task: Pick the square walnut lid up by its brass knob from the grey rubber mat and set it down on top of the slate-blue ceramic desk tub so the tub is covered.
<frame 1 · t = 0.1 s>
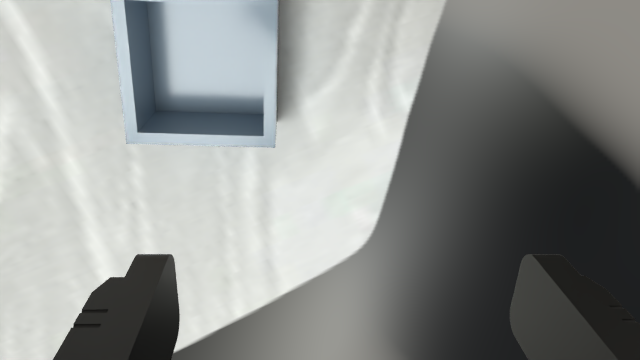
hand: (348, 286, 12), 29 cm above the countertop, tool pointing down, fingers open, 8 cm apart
tub: (211, 55, 38), on the countertop
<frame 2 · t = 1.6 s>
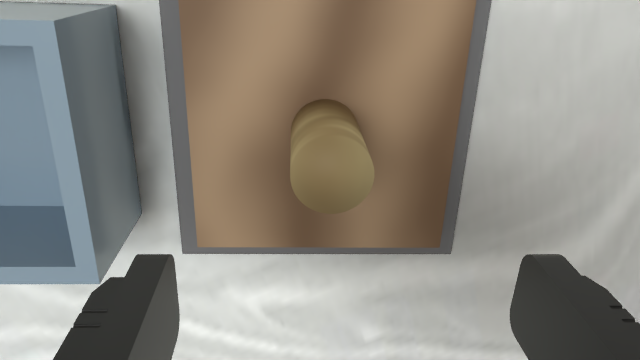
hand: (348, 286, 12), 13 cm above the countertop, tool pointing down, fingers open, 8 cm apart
tub: (18, 116, 23), on the countertop
mat: (322, 121, 24), on the countertop
lid: (323, 125, 23), point 1 cm above the countertop, touching mat
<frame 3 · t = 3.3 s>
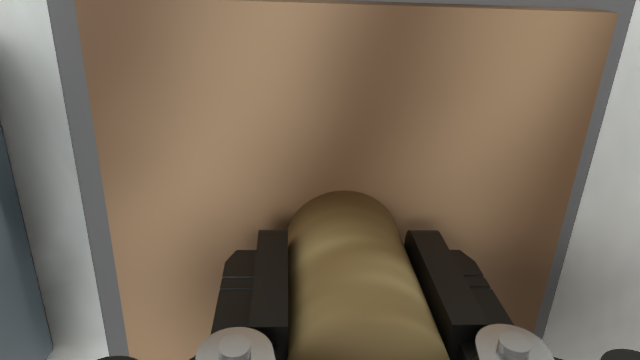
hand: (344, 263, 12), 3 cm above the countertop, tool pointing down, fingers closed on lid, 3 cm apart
mat: (336, 213, 15), on the countertop
lid: (338, 222, 14), point 1 cm above the countertop, touching gripper, mat
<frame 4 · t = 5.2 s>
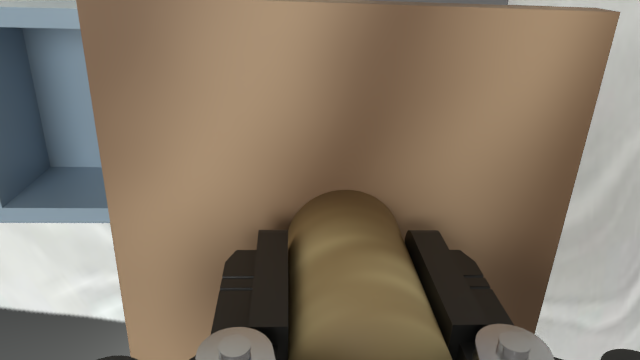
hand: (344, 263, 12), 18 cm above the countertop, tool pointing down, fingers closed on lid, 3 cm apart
tub: (119, 92, 28), on the countertop
mat: (368, 96, 29), on the countertop
lid: (339, 222, 14), point 16 cm above the countertop, touching gripper
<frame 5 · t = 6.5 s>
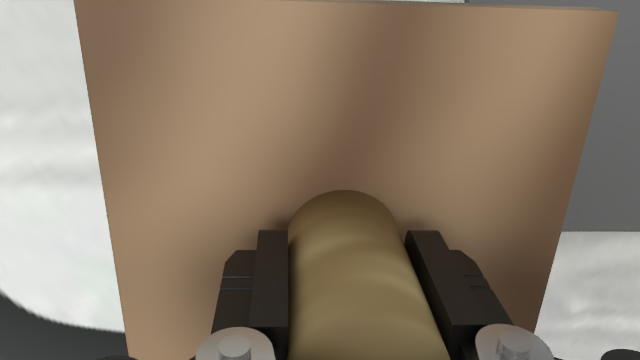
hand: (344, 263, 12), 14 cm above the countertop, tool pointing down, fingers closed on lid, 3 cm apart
mat: (578, 110, 27), on the countertop
lid: (338, 222, 14), point 12 cm above the countertop, touching gripper
when the fingers open (10 cm above the countertop, at t = 7.5 s): lid drops 2 cm, resting on tub.
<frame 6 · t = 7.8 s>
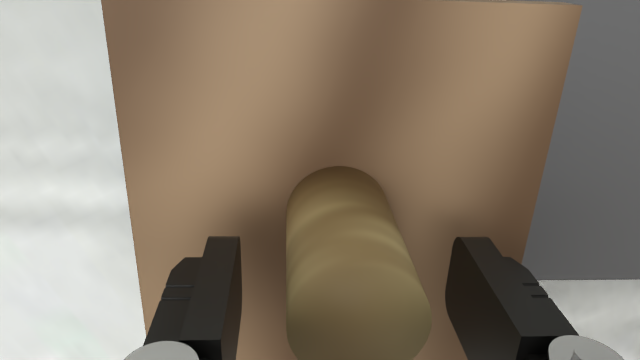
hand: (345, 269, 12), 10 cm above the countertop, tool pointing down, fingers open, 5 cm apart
mat: (636, 140, 22), on the countertop
lid: (334, 197, 16), point 6 cm above the countertop, touching tub
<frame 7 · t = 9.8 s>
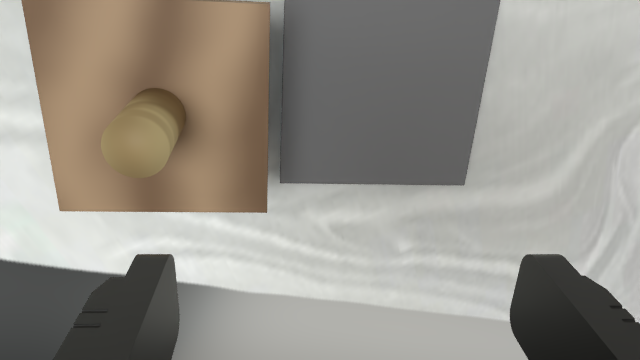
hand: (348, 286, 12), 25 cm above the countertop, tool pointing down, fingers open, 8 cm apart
mat: (382, 90, 35), on the countertop
lid: (161, 109, 28), point 6 cm above the countertop, touching tub
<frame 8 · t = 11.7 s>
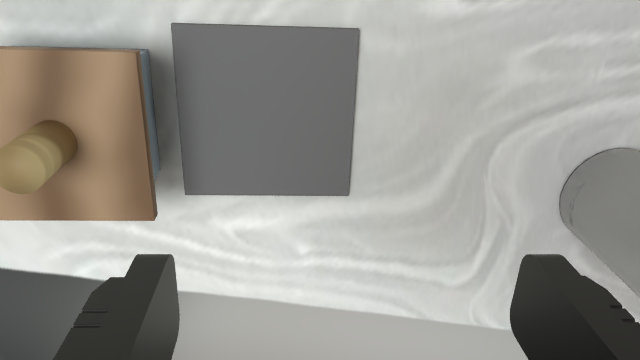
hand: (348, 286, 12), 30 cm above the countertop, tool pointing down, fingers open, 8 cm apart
tub: (90, 111, 40), on the countertop
mat: (267, 114, 41), on the countertop
lid: (60, 136, 34), point 6 cm above the countertop, touching tub
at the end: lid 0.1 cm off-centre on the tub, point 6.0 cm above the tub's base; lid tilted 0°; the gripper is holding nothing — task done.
